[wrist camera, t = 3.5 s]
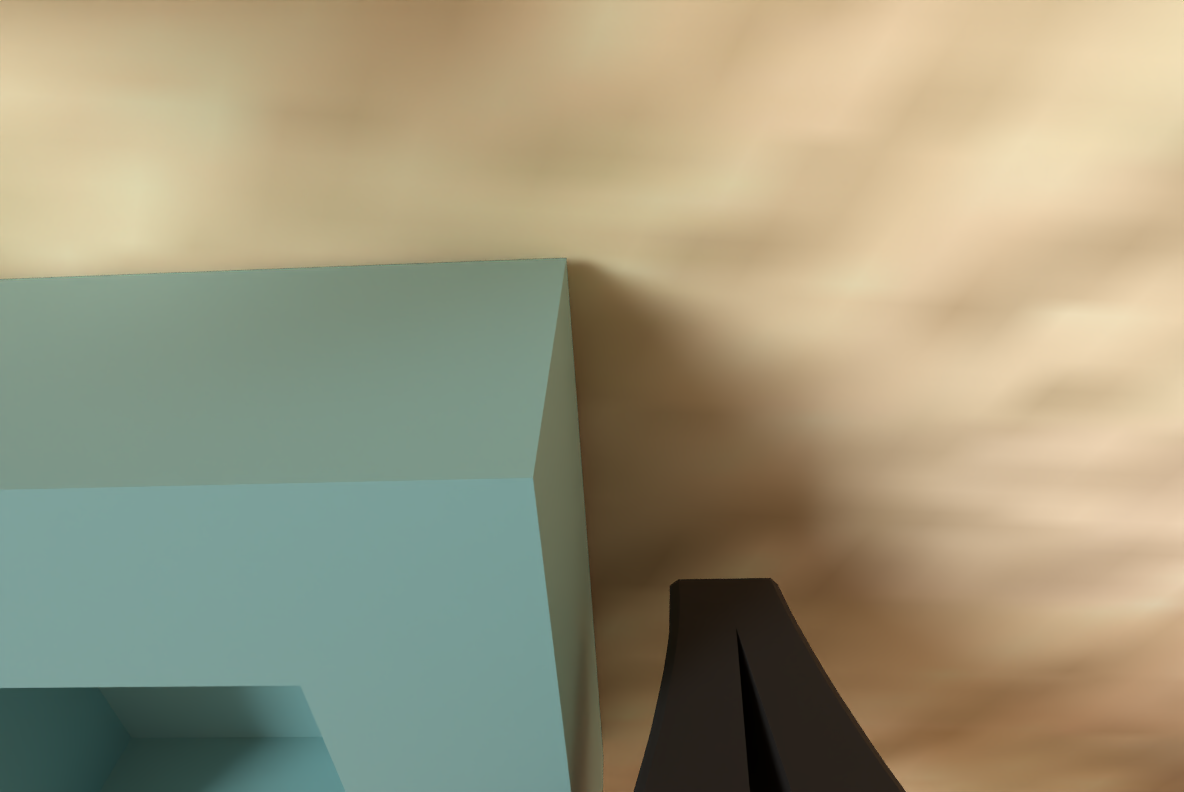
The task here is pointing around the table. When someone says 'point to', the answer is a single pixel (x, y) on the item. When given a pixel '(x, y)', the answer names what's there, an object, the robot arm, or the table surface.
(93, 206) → the table surface
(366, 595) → the sliding block
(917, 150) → the table surface
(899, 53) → the table surface
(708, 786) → the robot arm
